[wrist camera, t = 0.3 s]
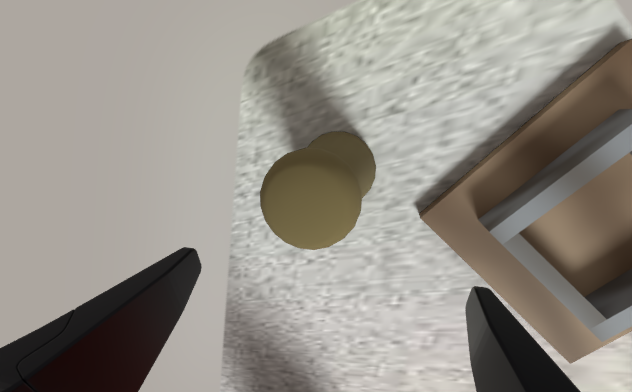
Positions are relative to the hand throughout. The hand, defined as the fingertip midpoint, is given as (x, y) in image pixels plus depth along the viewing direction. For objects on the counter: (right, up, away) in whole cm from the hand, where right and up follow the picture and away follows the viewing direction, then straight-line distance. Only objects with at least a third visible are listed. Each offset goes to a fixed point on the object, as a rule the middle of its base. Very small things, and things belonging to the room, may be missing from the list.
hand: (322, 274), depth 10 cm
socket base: (+19, +1, +12) cm, 22 cm away
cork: (+2, +5, +15) cm, 16 cm away
